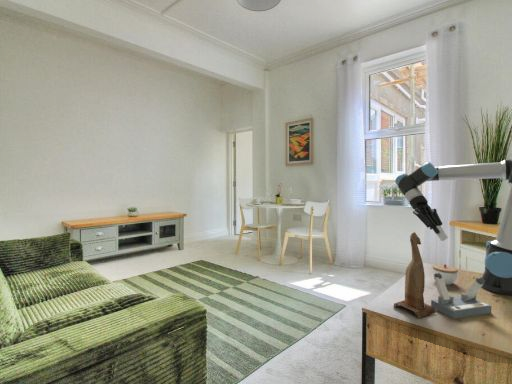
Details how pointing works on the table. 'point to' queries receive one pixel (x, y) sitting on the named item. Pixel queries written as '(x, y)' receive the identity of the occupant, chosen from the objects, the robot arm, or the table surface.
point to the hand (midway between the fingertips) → (444, 239)
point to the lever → (441, 287)
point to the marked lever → (475, 288)
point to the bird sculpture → (415, 283)
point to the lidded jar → (446, 273)
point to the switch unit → (461, 306)
